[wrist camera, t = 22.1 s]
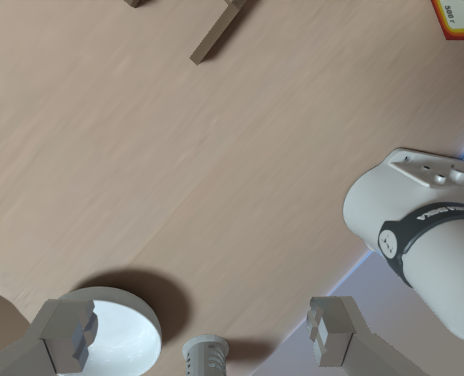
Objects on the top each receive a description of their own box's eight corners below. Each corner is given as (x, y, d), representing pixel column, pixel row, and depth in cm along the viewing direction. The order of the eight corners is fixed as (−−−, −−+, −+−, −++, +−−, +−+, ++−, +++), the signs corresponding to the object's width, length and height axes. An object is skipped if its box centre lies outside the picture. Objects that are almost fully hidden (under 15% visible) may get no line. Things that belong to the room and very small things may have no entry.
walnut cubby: (243, 4, 36) (246, 1, 33) (197, 63, 38) (197, 65, 36) (171, -71, 32) (168, -81, 30) (126, 0, 35) (120, -4, 32)
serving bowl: (21, 300, 53) (-3, 335, 47) (122, 250, 50) (111, 280, 44) (97, 364, 62) (86, 400, 56) (186, 324, 59) (185, 357, 53)
